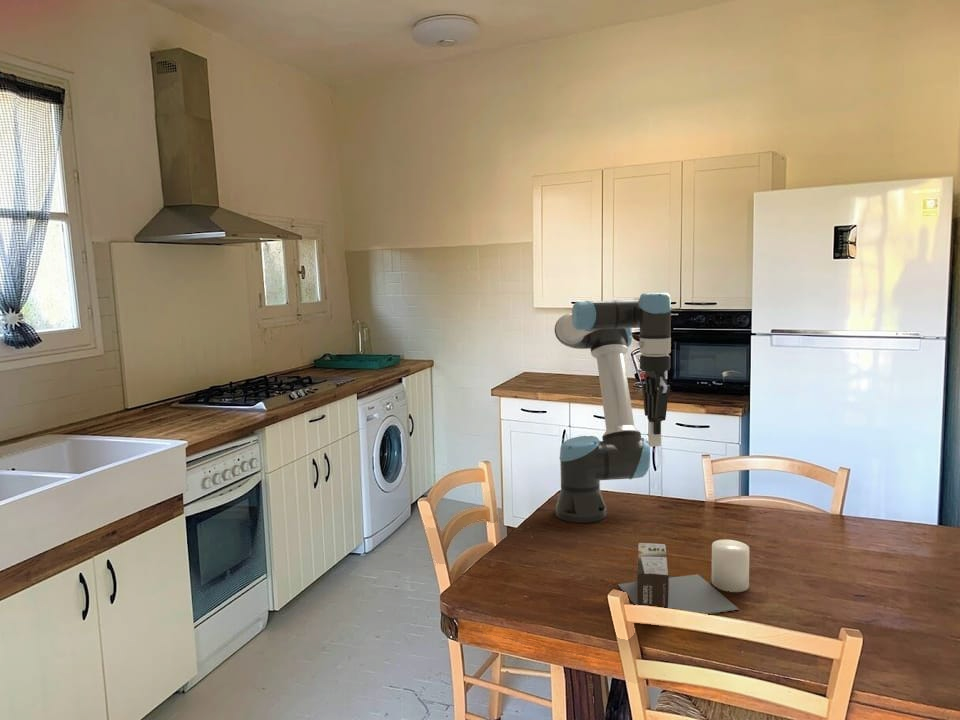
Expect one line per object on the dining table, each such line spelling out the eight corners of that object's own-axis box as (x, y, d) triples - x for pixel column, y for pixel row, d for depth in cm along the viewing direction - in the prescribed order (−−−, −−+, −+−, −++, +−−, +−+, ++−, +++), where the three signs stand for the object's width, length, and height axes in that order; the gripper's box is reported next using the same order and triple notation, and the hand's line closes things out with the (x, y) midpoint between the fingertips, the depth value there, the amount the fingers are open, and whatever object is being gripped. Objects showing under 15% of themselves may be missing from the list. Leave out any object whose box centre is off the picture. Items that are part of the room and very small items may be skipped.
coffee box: (637, 542, 152) (637, 571, 136) (665, 543, 150) (668, 573, 135) (637, 579, 153) (637, 613, 137) (665, 581, 151) (668, 615, 136)
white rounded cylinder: (705, 578, 153) (705, 541, 152) (736, 574, 154) (736, 538, 153) (723, 594, 145) (723, 555, 144) (756, 589, 146) (756, 551, 145)
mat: (618, 585, 151) (618, 584, 150) (697, 575, 154) (697, 574, 154) (650, 622, 134) (650, 620, 134) (738, 610, 137) (738, 608, 137)
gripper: (631, 352, 169) (631, 440, 172) (651, 358, 156) (651, 453, 160) (658, 350, 170) (658, 438, 173) (680, 356, 157) (679, 451, 161)
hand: (654, 445), depth 167 cm, fingers closed
